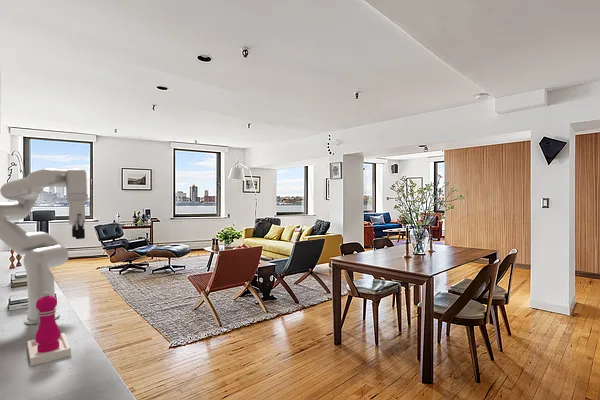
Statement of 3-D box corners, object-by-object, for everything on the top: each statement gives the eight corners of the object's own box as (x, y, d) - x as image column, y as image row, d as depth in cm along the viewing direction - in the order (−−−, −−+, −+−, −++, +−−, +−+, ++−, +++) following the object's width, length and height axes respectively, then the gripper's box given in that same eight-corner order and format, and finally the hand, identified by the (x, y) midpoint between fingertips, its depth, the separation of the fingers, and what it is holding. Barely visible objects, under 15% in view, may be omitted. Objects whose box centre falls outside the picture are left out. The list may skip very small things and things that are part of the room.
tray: (27, 348, 126) (27, 341, 126) (64, 339, 133) (64, 332, 133) (30, 366, 112) (30, 358, 112) (71, 355, 119) (71, 348, 119)
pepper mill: (47, 354, 118) (45, 295, 118) (30, 352, 120) (27, 294, 119) (66, 344, 125) (63, 289, 125) (49, 343, 127) (47, 288, 126)
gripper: (63, 198, 155) (65, 237, 155) (69, 198, 142) (71, 240, 142) (83, 198, 160) (85, 235, 160) (90, 197, 147) (92, 238, 147)
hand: (78, 237), depth 151 cm, fingers open, 9 cm apart
